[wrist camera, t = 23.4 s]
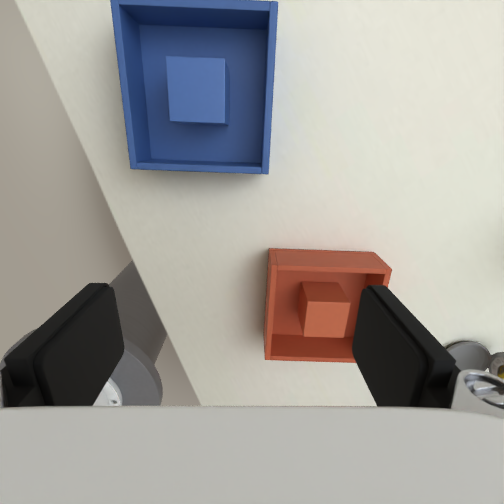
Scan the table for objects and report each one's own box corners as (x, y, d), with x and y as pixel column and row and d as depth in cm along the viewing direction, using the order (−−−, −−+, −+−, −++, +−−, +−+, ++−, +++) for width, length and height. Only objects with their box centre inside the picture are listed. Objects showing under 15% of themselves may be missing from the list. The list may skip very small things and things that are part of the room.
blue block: (182, 123, 27) (169, 121, 23) (179, 69, 26) (165, 55, 21) (229, 125, 27) (224, 123, 23) (229, 71, 26) (225, 58, 21)
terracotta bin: (263, 334, 37) (264, 360, 33) (268, 248, 33) (271, 264, 28) (355, 337, 37) (369, 363, 33) (374, 252, 33) (392, 269, 29)
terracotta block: (297, 313, 35) (303, 336, 31) (300, 281, 34) (307, 301, 29) (333, 314, 35) (343, 338, 31) (338, 282, 34) (350, 302, 29)
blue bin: (148, 164, 29) (130, 169, 25) (134, 18, 25) (109, -7, 20) (266, 169, 29) (268, 174, 25) (273, 24, 25) (278, 1, 21)
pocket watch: (425, 356, 39) (480, 426, 29) (485, 322, 36) (565, 386, 27) (453, 390, 41) (511, 465, 32) (510, 360, 39) (591, 431, 29)
